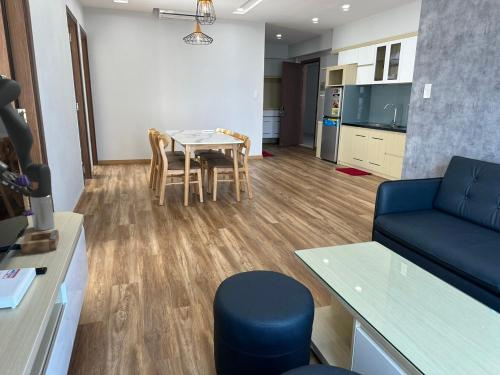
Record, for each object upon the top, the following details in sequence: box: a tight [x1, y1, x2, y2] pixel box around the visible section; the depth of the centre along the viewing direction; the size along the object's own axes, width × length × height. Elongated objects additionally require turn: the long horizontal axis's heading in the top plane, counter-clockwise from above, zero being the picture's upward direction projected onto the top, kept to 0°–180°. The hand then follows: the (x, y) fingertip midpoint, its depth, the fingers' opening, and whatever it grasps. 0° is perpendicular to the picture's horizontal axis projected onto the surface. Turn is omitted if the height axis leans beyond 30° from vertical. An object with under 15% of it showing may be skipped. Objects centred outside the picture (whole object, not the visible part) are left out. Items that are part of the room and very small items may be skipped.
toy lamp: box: [17, 174, 34, 217], centre depth 143 cm, size 5×5×17 cm
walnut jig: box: [20, 229, 60, 255], centre depth 158 cm, size 13×13×5 cm
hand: (30, 193), depth 144 cm, fingers closed on toy lamp, 4 cm apart
